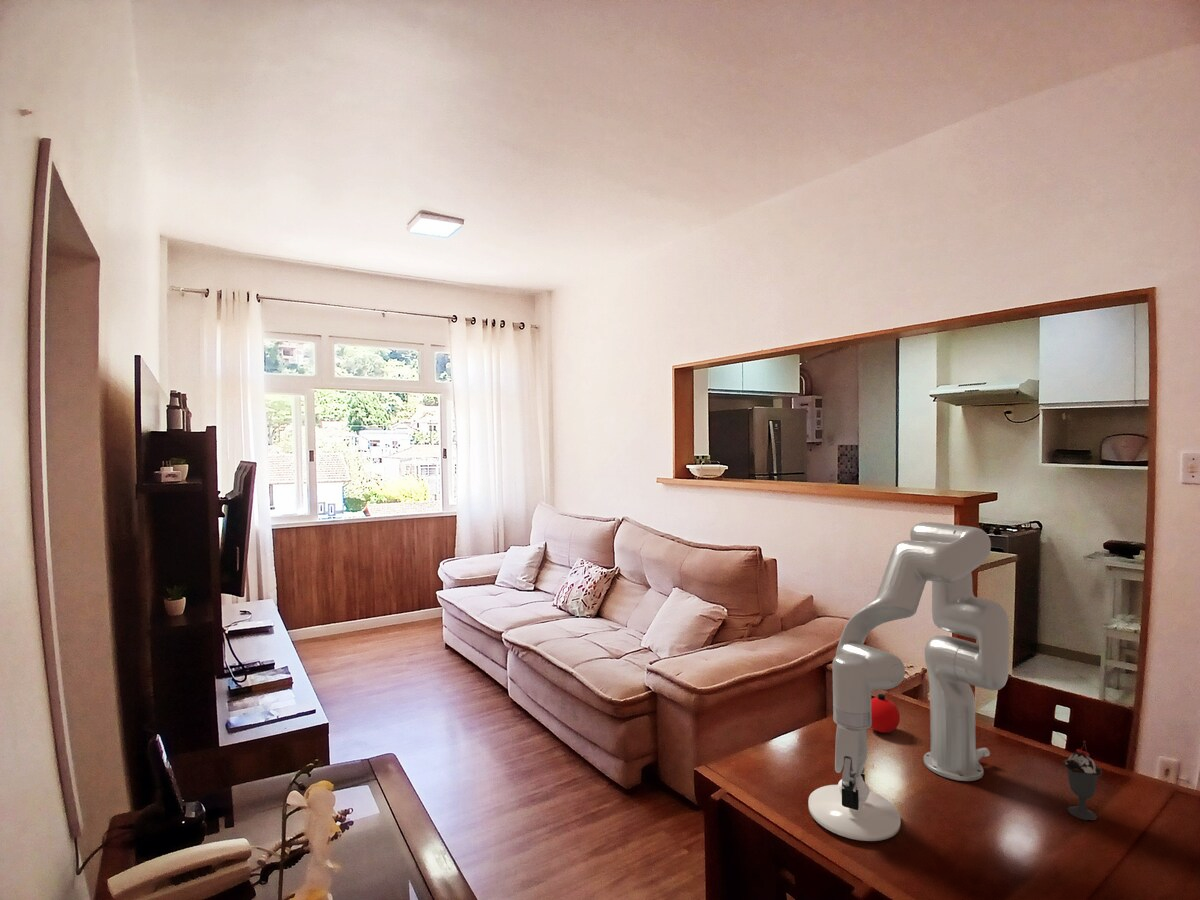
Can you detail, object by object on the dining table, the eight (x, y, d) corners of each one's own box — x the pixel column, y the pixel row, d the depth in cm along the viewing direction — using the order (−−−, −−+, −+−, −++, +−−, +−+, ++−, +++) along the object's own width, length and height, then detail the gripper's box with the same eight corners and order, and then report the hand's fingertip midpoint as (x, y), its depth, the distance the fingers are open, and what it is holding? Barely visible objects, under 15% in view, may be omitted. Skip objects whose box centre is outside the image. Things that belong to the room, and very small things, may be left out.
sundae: (1094, 807, 132) (1093, 738, 132) (1108, 826, 125) (1107, 753, 125) (1057, 802, 134) (1057, 733, 134) (1069, 820, 128) (1069, 748, 127)
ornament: (883, 741, 162) (883, 704, 162) (856, 727, 170) (856, 691, 170) (907, 734, 166) (907, 697, 166) (879, 721, 174) (879, 685, 174)
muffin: (870, 800, 131) (869, 767, 131) (869, 816, 126) (869, 782, 126) (839, 793, 134) (838, 761, 134) (837, 809, 128) (836, 775, 128)
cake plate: (858, 786, 141) (858, 778, 141) (921, 833, 124) (920, 824, 124) (791, 802, 136) (791, 793, 136) (847, 853, 119) (847, 843, 119)
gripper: (842, 696, 139) (843, 775, 139) (823, 727, 125) (825, 814, 125) (878, 703, 135) (879, 784, 135) (863, 736, 120) (865, 826, 121)
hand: (853, 798), depth 130 cm, fingers open, 6 cm apart
